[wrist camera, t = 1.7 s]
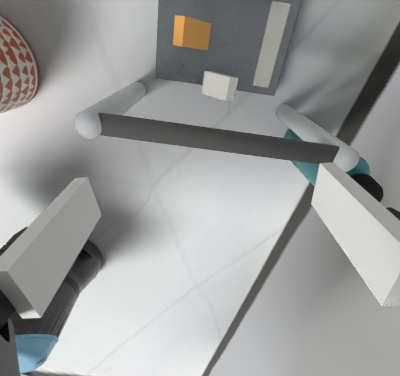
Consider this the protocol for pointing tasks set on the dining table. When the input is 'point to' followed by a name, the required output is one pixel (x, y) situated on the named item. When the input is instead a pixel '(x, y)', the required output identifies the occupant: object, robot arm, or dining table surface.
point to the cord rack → (214, 133)
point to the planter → (15, 68)
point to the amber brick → (191, 33)
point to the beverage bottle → (357, 173)
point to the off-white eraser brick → (219, 86)
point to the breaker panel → (228, 41)
